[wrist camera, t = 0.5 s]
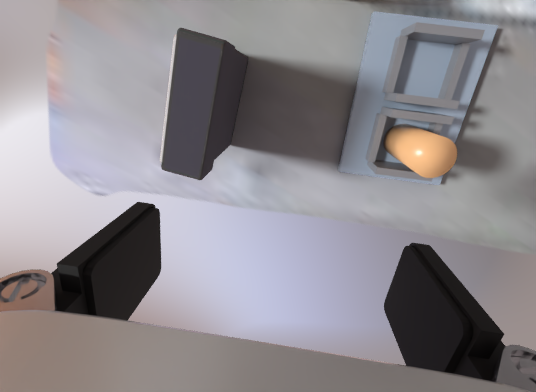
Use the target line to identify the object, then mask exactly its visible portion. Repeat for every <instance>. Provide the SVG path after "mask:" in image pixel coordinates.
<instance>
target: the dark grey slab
mask: <svg viewBox="0 0 536 392" xmlns="http://www.w3.org/2000/svg"><path fill="white" fill-rule="evenodd" d="M247 63H248V57H247V56H245V55H244V54H242V53H241V52H239V51H237V50H236V49H235V46H233V45H232V44H230V43H229V42H227V41H226V40H222V39H219V38H216V37H212V36H209V35H205V34H201V33H198V32H194V31H191V30H187V29H184V28H179V29H178V31H177V34H175V36H174V41H173V49H172V58H171V67H170V76H169V84H168V93H167V102H166V111H165V120H164V128H163V137H162V146H161V155H160V162H161V163H162V165H161V167H162V169H163V170H165V171H168V172H172V173H176V174H179V175H183V176H187V177H190V178H194V179H198V180H202V179H203V178H204V177H205V176H206V175H207V174H208V173H209V172H210V171H211V170H212V167H213V162H214V160H215V159H216V158H217V157H218V156H219V155H220V154H221V153H222V152H223V151H224V150H225V149H226V148H227V147H228V146H230V144H231V139H232V135H233V130H234V125H235V120H236V115H237V111H238V106H239V101H240V96H241V92H242V87H243V82H244V77H245V72H246V68H247Z"/></svg>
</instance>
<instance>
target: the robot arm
mask: <svg viewBox="0 0 536 392" xmlns="http://www.w3.org/2000/svg"><path fill="white" fill-rule="evenodd" d="M57 267H58V268H57V269H56V270H55V271H54V272H52V273H49V272H48V271H45V270H33V269H32V270H25V271H19V272H16V273H12V274H10V275H7V276H5V277H2V278H0V392H536V351H534V350H532V349H529V348H526V347H523V346H520V345H509V346H505V345H504V344H503V343H502V341H501V339H502V337H503V335H504V333H503V332H502V331H501V330H500V329H499V327H498V326H497V325H496V324H495V322H494V321H493V320H492V319H491V318H490V317H489V316H488V314H487V313H486V312H485V311H484V310H483V308H482V307H481V306H480V305H479V303H478V302H477V301H476V300H475V299H474V297H473V296H472V295H471V294H470V293H469V292H468V290H467V289H466V288H465V287H464V286H463V284H462V283H461V282H460V281H459V280H458V278H457V277H456V276H455V275H454V274H453V272H452V271H451V270H450V269H449V268H448V266H447V265H446V264H445V263H444V262H443V261H442V259H441V258H440V257H439V256H438V255H437V253H436V252H435V251H434V250H433V249H432V247H431V246H429V245H424V244H418V243H411V244H410V245H409V246H406V247H405V248H404V250H403V252H402V255H401V258H400V261H399V263H398V266H397V269H396V272H395V275H394V277H393V280H392V283H391V286H390V289H389V291H388V294H387V297H386V299H385V303H384V310H385V313H386V316H387V318H388V320H389V323H390V326H391V328H392V331H393V333H394V336H395V338H396V341H397V343H398V346H399V348H400V351H401V353H402V356H403V358H404V360H405V363H406V366H404V365H399V364H393V363H387V362H381V361H374V360H368V359H362V358H357V357H351V356H344V355H338V354H332V353H326V352H320V351H314V350H307V349H301V348H295V347H289V346H283V345H277V344H271V343H265V342H259V341H252V340H246V339H240V338H234V337H228V336H221V335H215V334H209V333H203V332H197V331H191V330H185V329H178V328H171V327H165V326H159V325H153V324H146V323H140V322H133V321H127V320H128V319H129V317H130V316H131V315H132V313H133V312H134V310H135V309H136V308H137V306H138V305H139V303H140V302H141V300H142V299H143V298H144V296H145V295H146V293H147V292H148V290H149V289H150V288H151V286H152V285H153V283H154V282H155V280H156V279H157V277H158V276H159V274H160V271H161V243H160V212H159V209H157V208H155V205H153V204H148V203H142V202H137V203H136V204H134V205H133V206H132V207H130V208H129V209H128V210H126V211H125V212H124V213H123V214H121V215H120V216H119V217H117V218H116V219H115V220H113V221H112V222H111V223H109V224H108V225H107V226H106V227H104V228H103V229H102V230H100V231H99V232H98V233H97V234H95V235H94V236H92V237H91V238H90V239H88V240H87V241H86V242H85V243H83V244H82V245H81V246H79V247H78V248H77V249H75V250H74V251H73V252H71V253H70V254H69V255H67V256H66V257H65V258H64V259H62V260H61V261H60V262H58V263H57Z"/></svg>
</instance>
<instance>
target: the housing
mask: <svg viewBox="0 0 536 392" xmlns="http://www.w3.org/2000/svg"><path fill="white" fill-rule="evenodd" d="M497 27H498V25H490V24H481V23H472V22H463V21H455V20H446V19H437V18H428V17H419V16H410V15H402V14H393V13H384V12H375V11H374V12H373V13H372V15H371V20H370V24H369V29H368V34H367V38H366V43H365V47H364V52H363V57H362V61H361V66H360V71H359V75H358V80H357V84H356V89H355V94H354V98H353V103H352V107H351V112H350V117H349V121H348V126H347V130H346V135H345V140H344V144H343V149H342V154H341V158H340V163H339V167H338V171H339V172H344V173H351V174H359V175H366V176H374V177H381V178H389V179H396V180H404V181H411V182H419V183H426V184H433V185H440V183H441V180H442V177H443V175H444V174H445V173H447V172H448V171H449V170H450V169H451V168H452V167H453V165H454V163H455V161H456V158H457V148H456V146H455V142H456V139H457V137H458V134H459V131H460V128H461V126H462V123H463V120H464V117H465V115H466V112H467V109H468V106H469V104H470V101H471V98H472V96H473V93H474V90H475V87H476V85H477V82H478V79H479V76H480V74H481V71H482V68H483V66H484V63H485V60H486V57H487V55H488V52H489V49H490V46H491V44H492V41H493V38H494V35H495V33H496V30H497Z"/></svg>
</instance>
